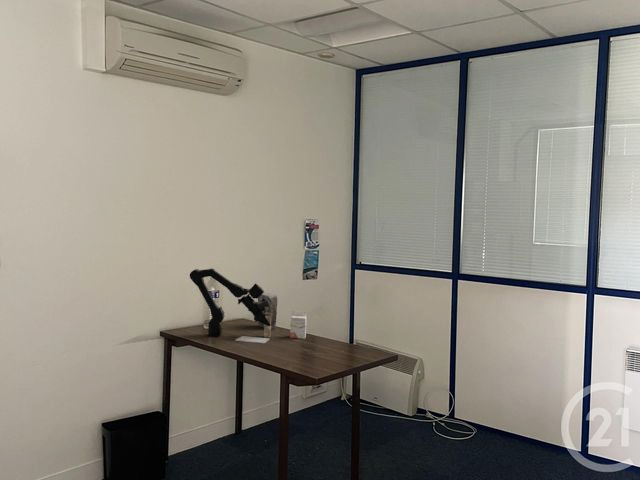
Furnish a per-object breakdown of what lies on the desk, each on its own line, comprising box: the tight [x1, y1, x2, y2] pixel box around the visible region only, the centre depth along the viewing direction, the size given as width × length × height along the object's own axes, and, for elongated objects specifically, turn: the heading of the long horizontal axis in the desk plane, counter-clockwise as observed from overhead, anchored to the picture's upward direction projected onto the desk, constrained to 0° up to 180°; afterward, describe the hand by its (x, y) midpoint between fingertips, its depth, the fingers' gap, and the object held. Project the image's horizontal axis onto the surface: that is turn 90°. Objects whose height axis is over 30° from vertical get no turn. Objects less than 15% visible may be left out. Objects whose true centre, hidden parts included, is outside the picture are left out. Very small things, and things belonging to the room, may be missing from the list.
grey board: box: [235, 335, 271, 344], centre depth 334 cm, size 16×10×1 cm, turn 77°
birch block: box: [263, 312, 272, 339], centre depth 342 cm, size 4×5×13 cm
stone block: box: [257, 292, 278, 330], centre depth 367 cm, size 13×7×20 cm, turn 44°
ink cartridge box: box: [289, 309, 307, 340], centre depth 344 cm, size 9×5×15 cm, turn 84°
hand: (270, 324), depth 342 cm, fingers closed on birch block, 5 cm apart
